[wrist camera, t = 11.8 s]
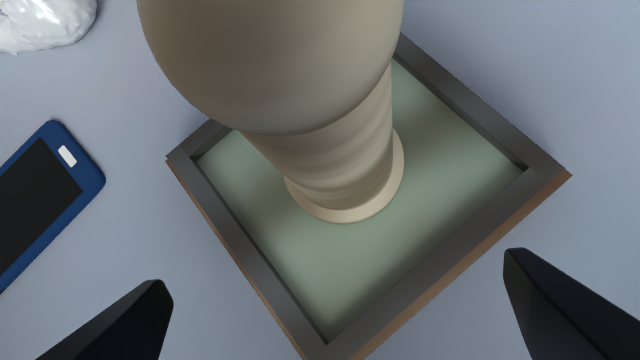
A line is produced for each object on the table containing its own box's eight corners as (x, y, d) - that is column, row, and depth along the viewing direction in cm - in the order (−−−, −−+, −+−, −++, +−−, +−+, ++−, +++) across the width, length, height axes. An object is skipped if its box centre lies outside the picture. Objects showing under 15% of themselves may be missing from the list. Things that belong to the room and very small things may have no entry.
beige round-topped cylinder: (417, 127, 18) (471, -272, 5) (383, 240, 17) (341, 91, 4) (310, 103, 20) (143, -247, 7) (272, 204, 19) (-19, 15, 6)
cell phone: (114, 182, 24) (105, 179, 23) (-43, 344, 23) (-57, 346, 22) (61, 119, 26) (51, 114, 25) (-83, 263, 25) (-97, 262, 24)
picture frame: (558, 183, 18) (583, 168, 16) (331, 383, 18) (321, 399, 15) (360, 15, 23) (356, -16, 21) (179, 168, 22) (154, 155, 20)
